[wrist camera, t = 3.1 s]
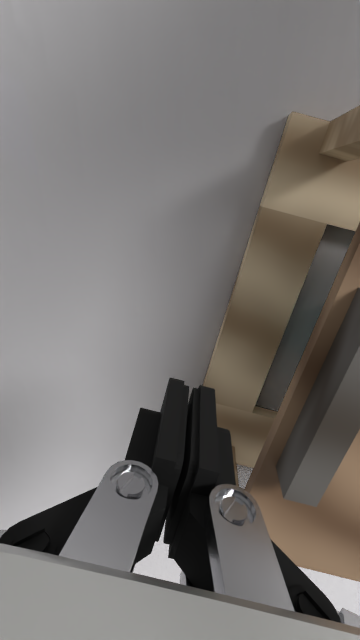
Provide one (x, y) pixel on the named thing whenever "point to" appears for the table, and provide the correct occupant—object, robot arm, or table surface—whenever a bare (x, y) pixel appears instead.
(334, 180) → the light wood slatted frame
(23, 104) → the table surface
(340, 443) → the walnut lid
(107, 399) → the table surface
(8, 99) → the table surface
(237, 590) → the robot arm
